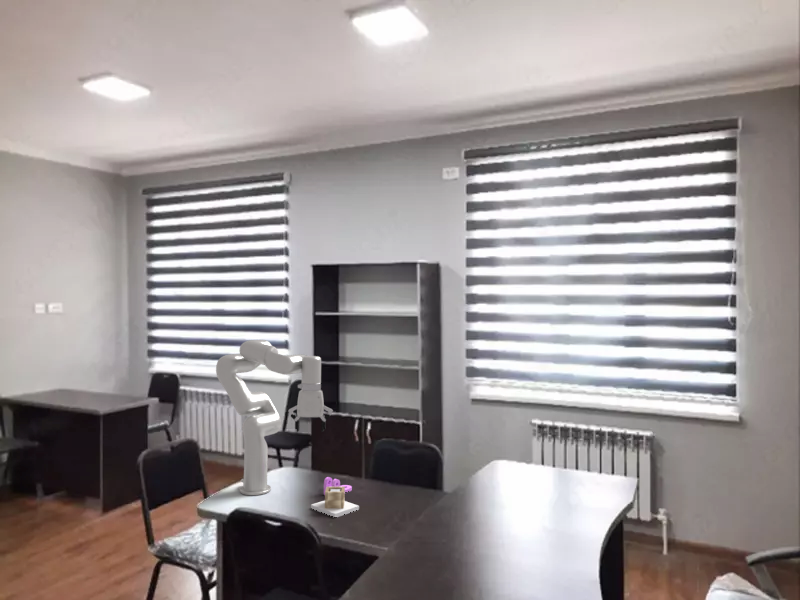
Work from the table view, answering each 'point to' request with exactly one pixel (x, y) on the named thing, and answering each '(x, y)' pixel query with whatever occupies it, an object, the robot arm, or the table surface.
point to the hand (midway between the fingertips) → (310, 431)
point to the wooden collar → (334, 497)
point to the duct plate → (335, 511)
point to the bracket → (335, 484)
